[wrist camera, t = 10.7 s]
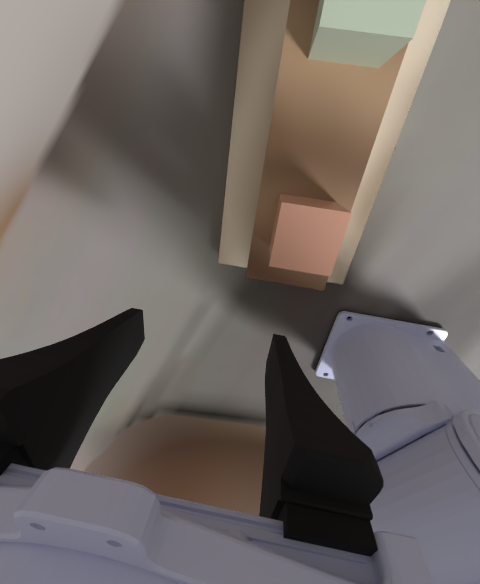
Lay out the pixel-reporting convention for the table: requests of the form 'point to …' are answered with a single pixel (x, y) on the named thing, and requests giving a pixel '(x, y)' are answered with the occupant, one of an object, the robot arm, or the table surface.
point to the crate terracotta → (307, 234)
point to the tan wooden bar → (316, 135)
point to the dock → (257, 117)
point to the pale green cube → (363, 30)
